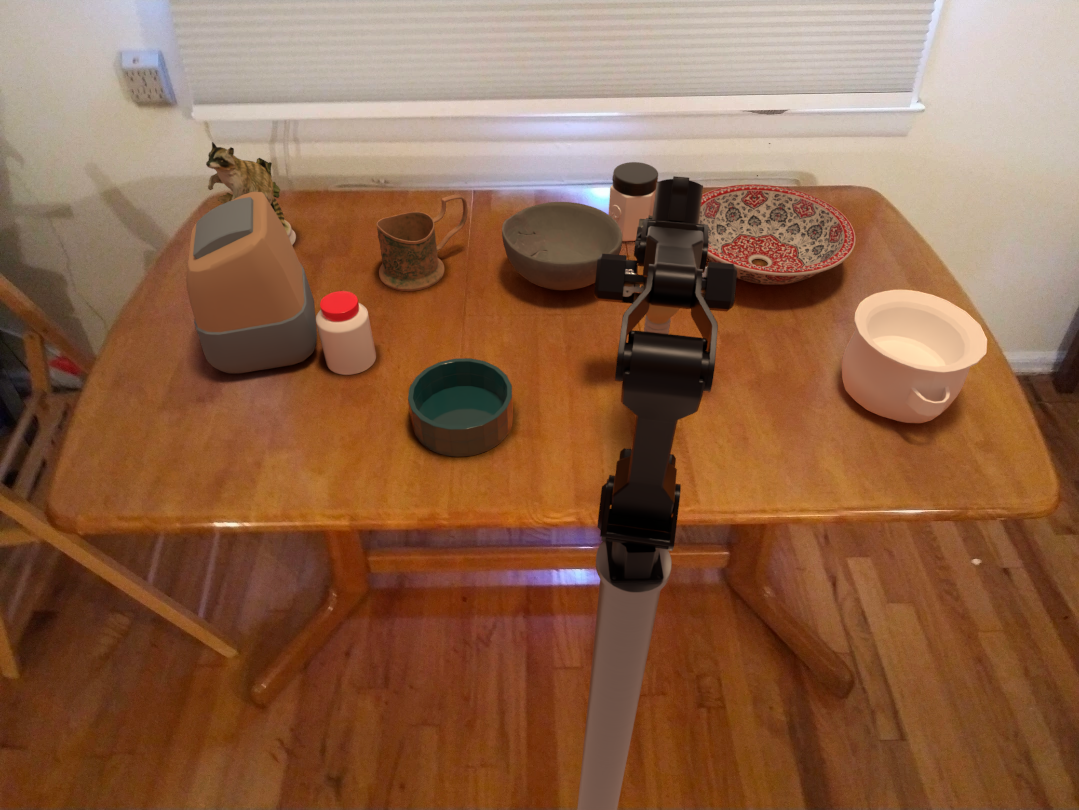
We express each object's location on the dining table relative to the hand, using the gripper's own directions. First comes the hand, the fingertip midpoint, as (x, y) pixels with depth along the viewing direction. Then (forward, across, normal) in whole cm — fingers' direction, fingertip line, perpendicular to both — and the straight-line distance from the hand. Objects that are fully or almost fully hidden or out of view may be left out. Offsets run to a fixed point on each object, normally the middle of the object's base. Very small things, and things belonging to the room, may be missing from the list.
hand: (661, 293), depth 114 cm
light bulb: (+4, 0, +6) cm, 7 cm away
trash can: (+5, +61, +13) cm, 63 cm away
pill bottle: (+4, +47, +14) cm, 49 cm away
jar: (+34, +6, -18) cm, 39 cm away
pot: (+7, -36, +11) cm, 38 cm away
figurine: (+25, +73, -8) cm, 78 cm away
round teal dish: (-4, +27, +21) cm, 34 cm away
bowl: (+22, +17, -5) cm, 28 cm away
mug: (+22, +41, -5) cm, 47 cm away
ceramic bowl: (+29, -18, -12) cm, 36 cm away
